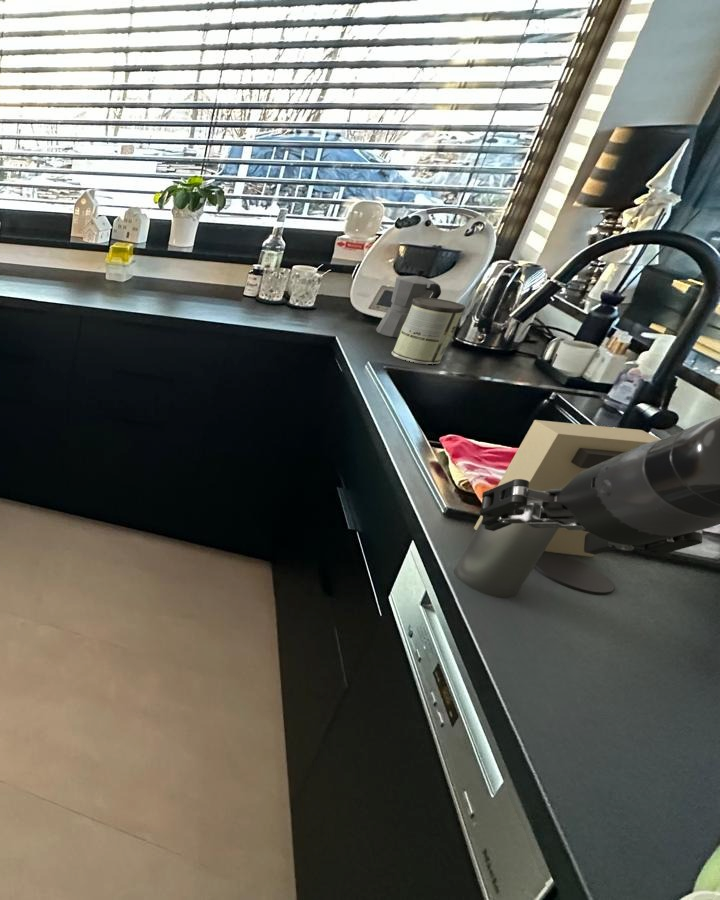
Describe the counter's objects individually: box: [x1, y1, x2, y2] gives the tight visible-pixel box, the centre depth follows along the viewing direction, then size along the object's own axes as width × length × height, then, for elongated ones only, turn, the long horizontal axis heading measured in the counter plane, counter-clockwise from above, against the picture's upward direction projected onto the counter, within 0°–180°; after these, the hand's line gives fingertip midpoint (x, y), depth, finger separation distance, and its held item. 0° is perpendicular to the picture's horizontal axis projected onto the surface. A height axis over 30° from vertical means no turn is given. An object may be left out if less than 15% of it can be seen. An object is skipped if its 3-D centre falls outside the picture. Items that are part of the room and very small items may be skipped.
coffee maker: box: [473, 419, 662, 596], centre depth 76 cm, size 12×13×18 cm
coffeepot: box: [375, 268, 442, 339], centre depth 170 cm, size 15×9×18 cm, turn 1°
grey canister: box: [453, 505, 559, 599], centre depth 73 cm, size 6×6×13 cm
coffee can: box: [391, 297, 466, 366], centre depth 153 cm, size 10×10×14 cm
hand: (537, 532), depth 67 cm, fingers open, 8 cm apart
